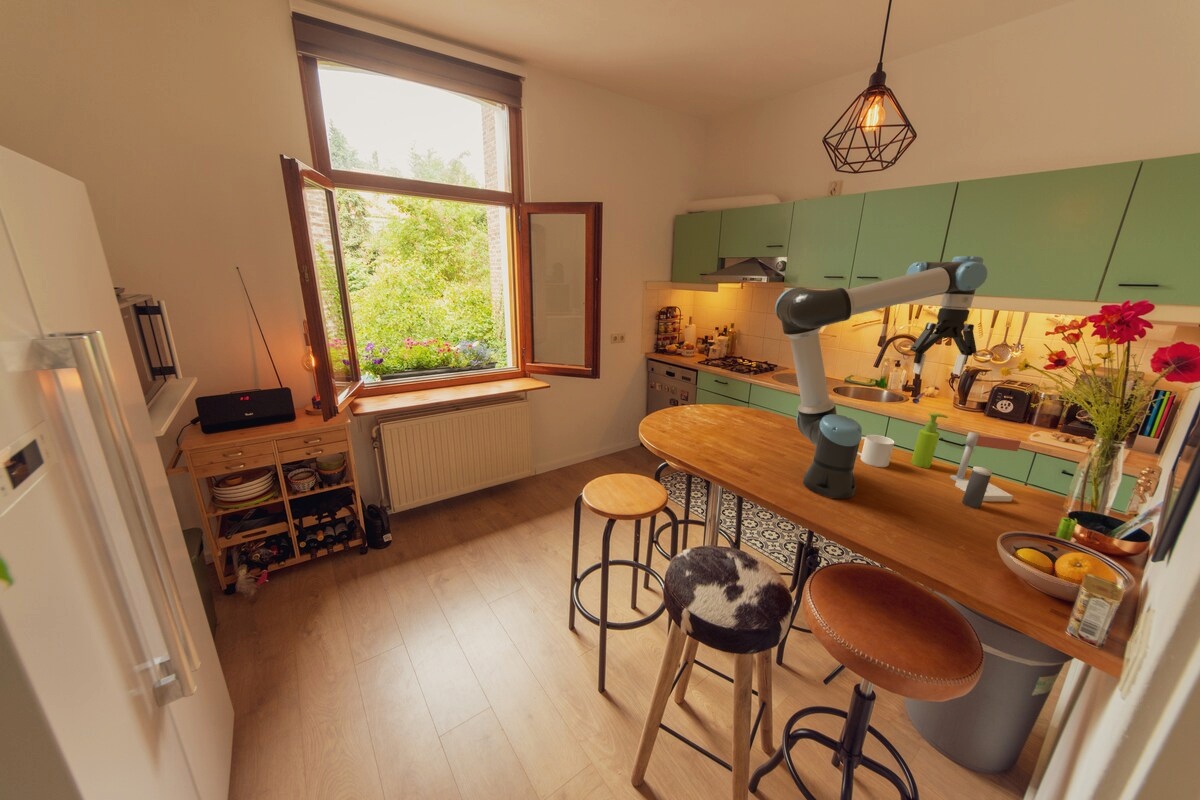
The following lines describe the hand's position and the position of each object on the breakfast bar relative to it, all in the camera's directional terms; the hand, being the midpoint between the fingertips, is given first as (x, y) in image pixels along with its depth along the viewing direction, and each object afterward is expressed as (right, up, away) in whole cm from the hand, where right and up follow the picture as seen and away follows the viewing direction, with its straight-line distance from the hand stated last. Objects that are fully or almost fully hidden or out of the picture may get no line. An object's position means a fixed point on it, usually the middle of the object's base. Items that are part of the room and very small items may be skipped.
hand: (936, 373), depth 141 cm
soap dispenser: (+10, -33, +19) cm, 39 cm away
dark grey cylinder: (+4, -41, -8) cm, 42 cm away
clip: (+20, -24, +2) cm, 31 cm away
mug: (-9, -32, +21) cm, 39 cm away
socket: (+14, -38, +2) cm, 41 cm away
